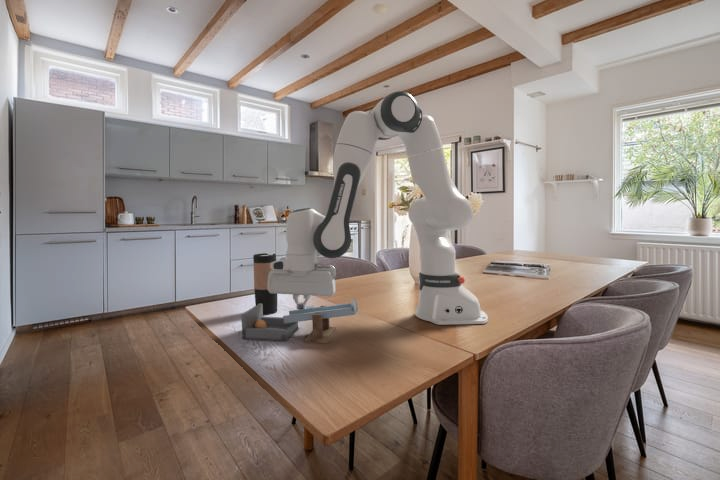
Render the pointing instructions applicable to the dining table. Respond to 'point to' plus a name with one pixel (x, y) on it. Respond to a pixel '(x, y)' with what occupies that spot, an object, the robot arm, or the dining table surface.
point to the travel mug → (264, 283)
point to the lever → (321, 312)
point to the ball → (260, 324)
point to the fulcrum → (320, 330)
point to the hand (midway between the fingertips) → (301, 309)
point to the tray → (274, 326)
